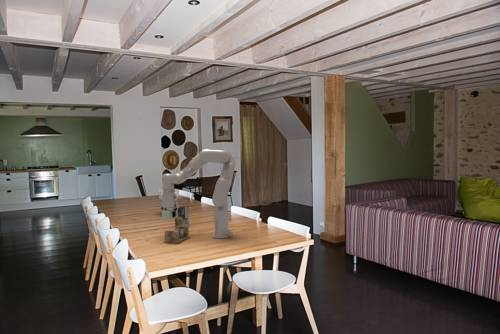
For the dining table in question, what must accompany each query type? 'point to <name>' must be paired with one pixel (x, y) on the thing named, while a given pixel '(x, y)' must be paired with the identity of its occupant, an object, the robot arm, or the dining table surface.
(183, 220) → the coffee box
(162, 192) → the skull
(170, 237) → the peg stand
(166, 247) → the dining table surface
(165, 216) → the grey green block
